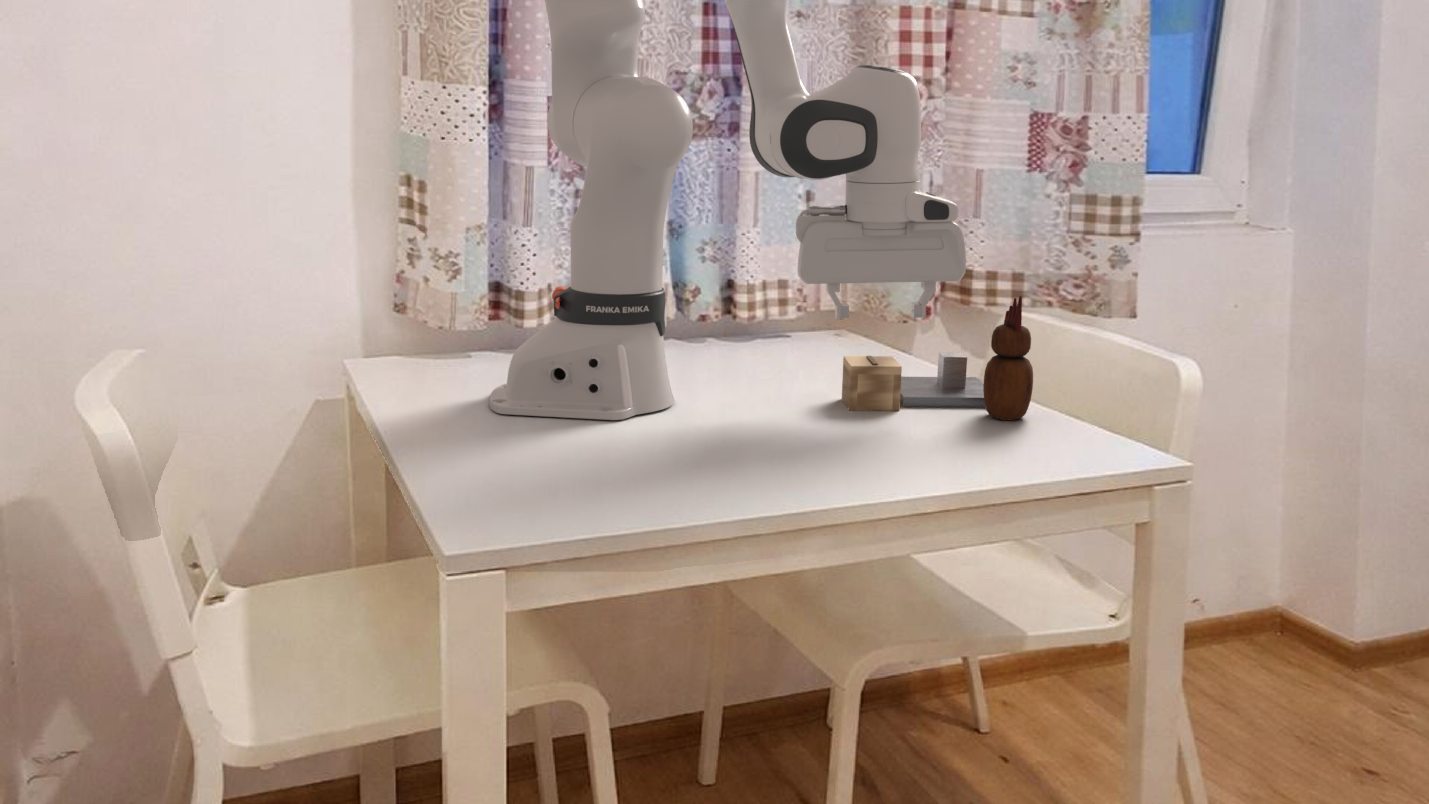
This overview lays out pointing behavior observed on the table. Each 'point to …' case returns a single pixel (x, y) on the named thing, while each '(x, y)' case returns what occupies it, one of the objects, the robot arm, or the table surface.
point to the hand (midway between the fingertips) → (880, 318)
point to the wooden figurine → (1009, 368)
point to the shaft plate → (944, 386)
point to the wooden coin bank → (871, 383)
